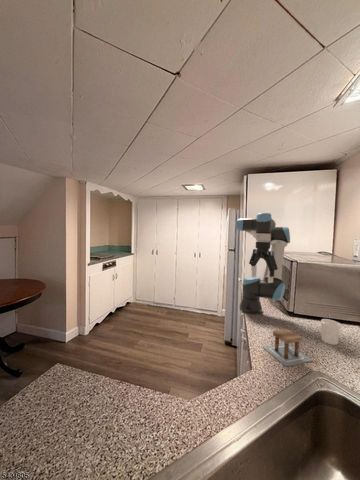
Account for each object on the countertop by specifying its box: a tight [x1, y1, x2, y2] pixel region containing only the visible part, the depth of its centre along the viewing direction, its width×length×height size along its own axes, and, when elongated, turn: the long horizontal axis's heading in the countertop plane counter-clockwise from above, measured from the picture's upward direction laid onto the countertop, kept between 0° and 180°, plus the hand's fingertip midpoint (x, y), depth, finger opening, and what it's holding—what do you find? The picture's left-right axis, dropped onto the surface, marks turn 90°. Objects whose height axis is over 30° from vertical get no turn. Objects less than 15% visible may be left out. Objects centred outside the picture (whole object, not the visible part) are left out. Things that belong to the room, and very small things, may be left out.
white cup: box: [320, 318, 341, 346], centre depth 103 cm, size 8×8×10 cm
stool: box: [272, 328, 303, 359], centre depth 91 cm, size 8×8×9 cm
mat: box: [262, 342, 313, 367], centre depth 92 cm, size 14×14×1 cm
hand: (261, 279), depth 112 cm, fingers open, 13 cm apart
